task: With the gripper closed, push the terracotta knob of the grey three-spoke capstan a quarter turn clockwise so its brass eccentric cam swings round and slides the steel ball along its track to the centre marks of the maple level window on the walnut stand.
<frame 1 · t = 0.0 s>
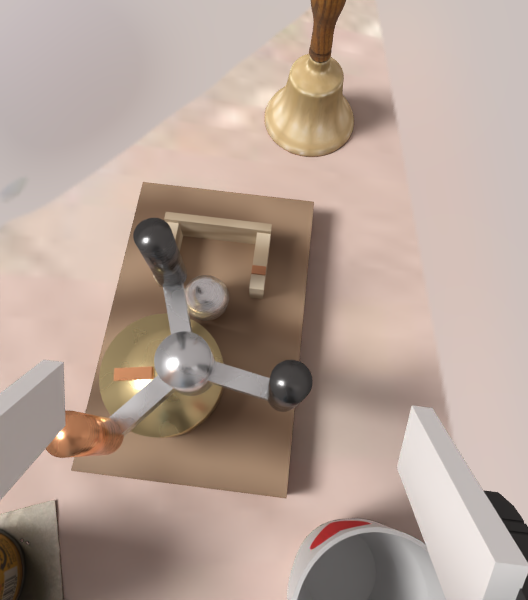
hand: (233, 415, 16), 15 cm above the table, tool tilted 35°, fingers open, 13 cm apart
cup: (338, 568, 28), on the table
stand: (208, 328, 33), on the table
ball: (206, 297, 30), point 4 cm above the table, slide at 0.0 cm
capstan: (191, 345, 25), point 7 cm above the table, hinge at 100.0°
hand bell: (308, 121, 40), on the table
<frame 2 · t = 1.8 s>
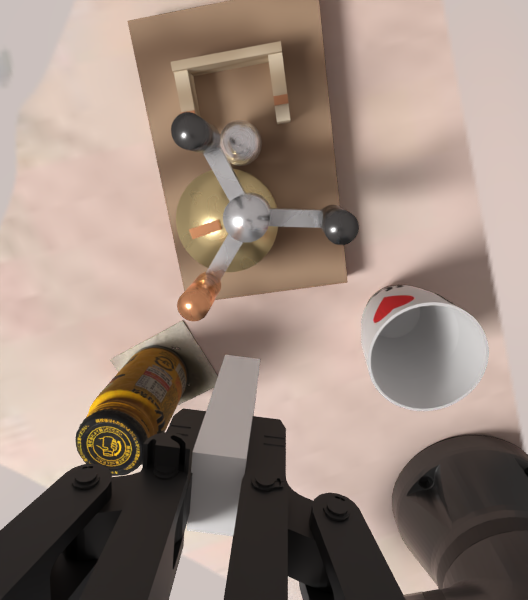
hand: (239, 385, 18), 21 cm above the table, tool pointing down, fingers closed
cup: (392, 312, 39), on the table
stand: (247, 161, 36), on the table
ball: (240, 143, 32), point 4 cm above the table, slide at 0.0 cm
capstan: (247, 201, 30), point 7 cm above the table, hinge at 100.0°
condiment: (167, 369, 42), on the table
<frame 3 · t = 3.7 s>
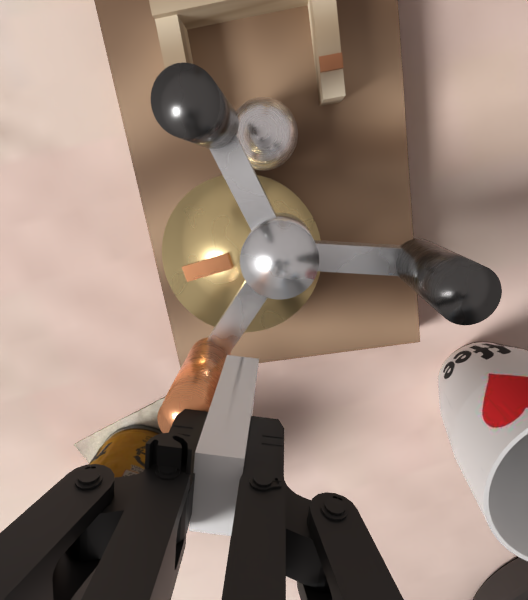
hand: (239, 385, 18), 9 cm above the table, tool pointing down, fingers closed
cup: (476, 378, 27), on the table
stand: (269, 163, 24), on the table
ball: (263, 134, 20), point 4 cm above the table, slide at 0.0 cm
capstan: (280, 231, 18), point 7 cm above the table, hinge at 97.8°, touching gripper
condiment: (155, 455, 30), on the table
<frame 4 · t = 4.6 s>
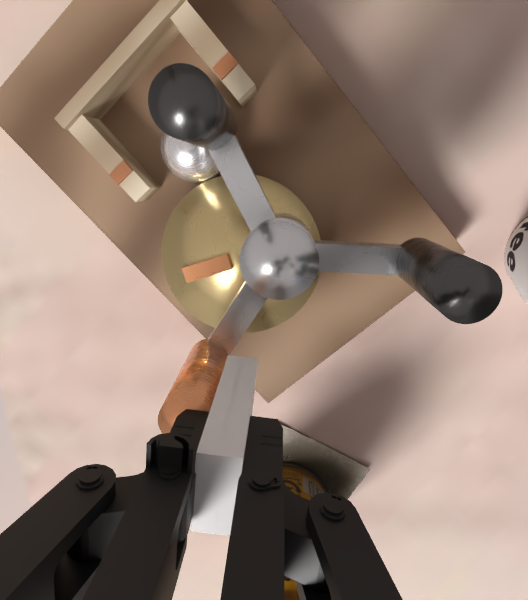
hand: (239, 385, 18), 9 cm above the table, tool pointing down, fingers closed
stand: (233, 181, 24), on the table
ball: (194, 147, 20), point 4 cm above the table, slide at 0.9 cm
capstan: (279, 231, 18), point 7 cm above the table, hinge at 66.0°, touching gripper
condiment: (292, 486, 30), on the table
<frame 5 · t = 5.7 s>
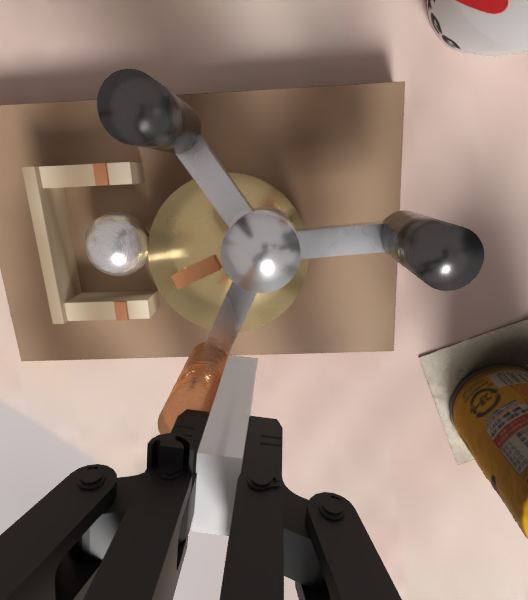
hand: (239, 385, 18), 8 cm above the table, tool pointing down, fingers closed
stand: (198, 231, 25), on the table
ball: (118, 244, 21), point 4 cm above the table, slide at 2.2 cm
capstan: (258, 224, 18), point 7 cm above the table, hinge at 22.8°, touching gripper
condiment: (492, 391, 27), on the table
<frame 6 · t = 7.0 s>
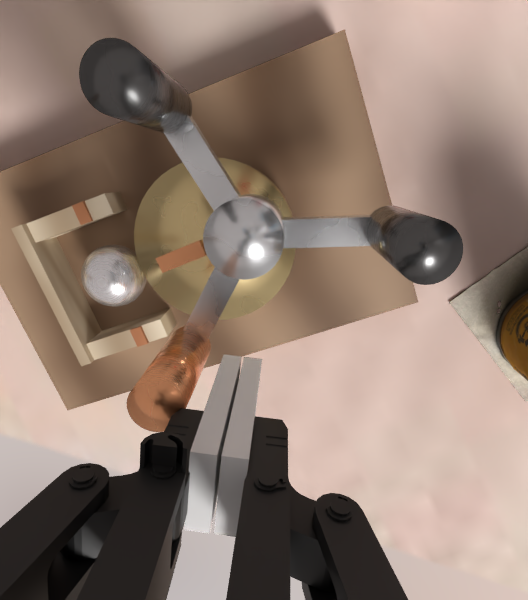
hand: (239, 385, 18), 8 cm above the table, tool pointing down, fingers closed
stand: (193, 241, 25), on the table
ball: (114, 275, 22), point 4 cm above the table, slide at 2.4 cm
capstan: (243, 210, 17), point 7 cm above the table, hinge at 2.6°
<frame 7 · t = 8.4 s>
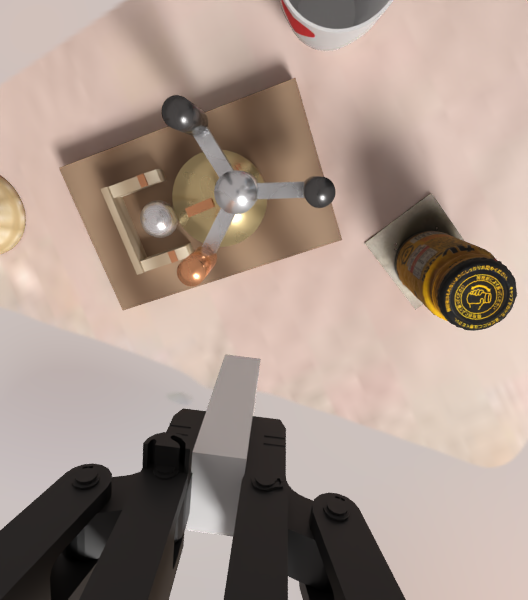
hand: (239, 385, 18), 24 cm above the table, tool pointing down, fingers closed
cup: (326, 15, 35), on the table
stand: (205, 202, 40), on the table
ball: (159, 219, 37), point 4 cm above the table, slide at 2.4 cm
capstan: (235, 177, 33), point 7 cm above the table, hinge at 3.2°
condiment: (421, 252, 41), on the table
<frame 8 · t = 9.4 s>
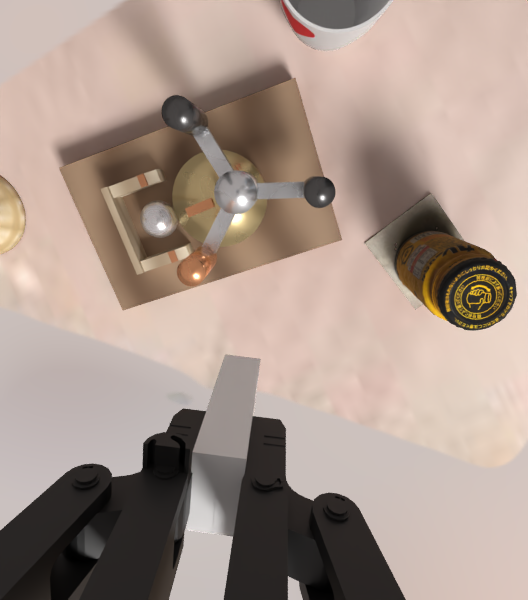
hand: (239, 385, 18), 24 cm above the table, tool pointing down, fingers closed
cup: (326, 15, 35), on the table
stand: (205, 202, 40), on the table
ball: (159, 219, 37), point 4 cm above the table, slide at 2.4 cm
capstan: (235, 177, 33), point 7 cm above the table, hinge at 3.2°
condiment: (421, 252, 41), on the table
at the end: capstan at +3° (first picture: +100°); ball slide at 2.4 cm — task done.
